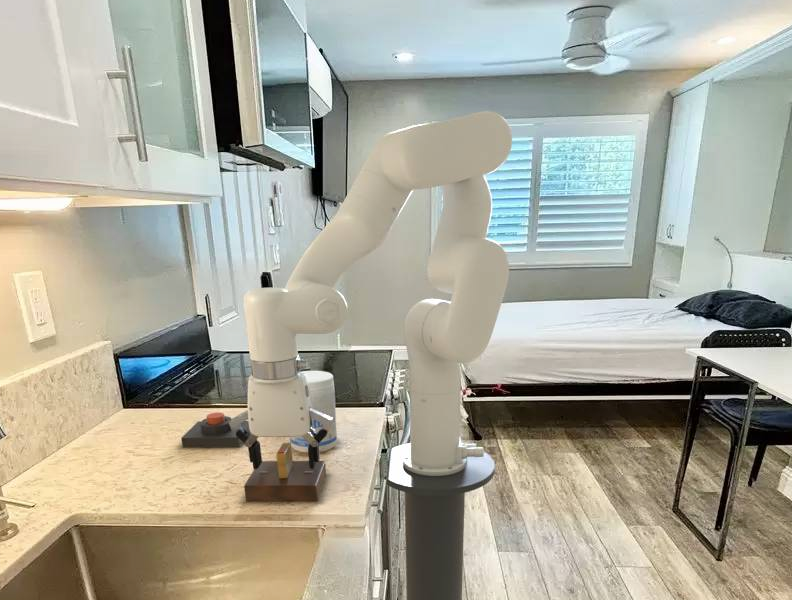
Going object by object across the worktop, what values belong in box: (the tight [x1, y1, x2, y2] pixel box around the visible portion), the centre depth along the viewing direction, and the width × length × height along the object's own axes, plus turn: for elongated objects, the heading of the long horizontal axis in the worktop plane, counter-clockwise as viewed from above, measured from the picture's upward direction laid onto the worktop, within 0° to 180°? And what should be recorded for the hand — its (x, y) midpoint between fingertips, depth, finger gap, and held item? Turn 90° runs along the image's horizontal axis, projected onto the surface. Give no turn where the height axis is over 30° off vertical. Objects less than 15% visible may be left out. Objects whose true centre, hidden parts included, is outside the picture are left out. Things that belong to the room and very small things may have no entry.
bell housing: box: [180, 415, 251, 449], centre depth 122 cm, size 12×10×4 cm
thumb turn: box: [276, 442, 294, 478], centre depth 97 cm, size 5×1×5 cm, turn 177°
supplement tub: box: [289, 370, 338, 454], centre depth 114 cm, size 10×10×15 cm
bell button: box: [206, 412, 225, 425], centre depth 121 cm, size 4×4×2 cm
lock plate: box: [243, 460, 327, 503], centre depth 99 cm, size 12×10×3 cm
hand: (285, 465), depth 97 cm, fingers open, 9 cm apart
